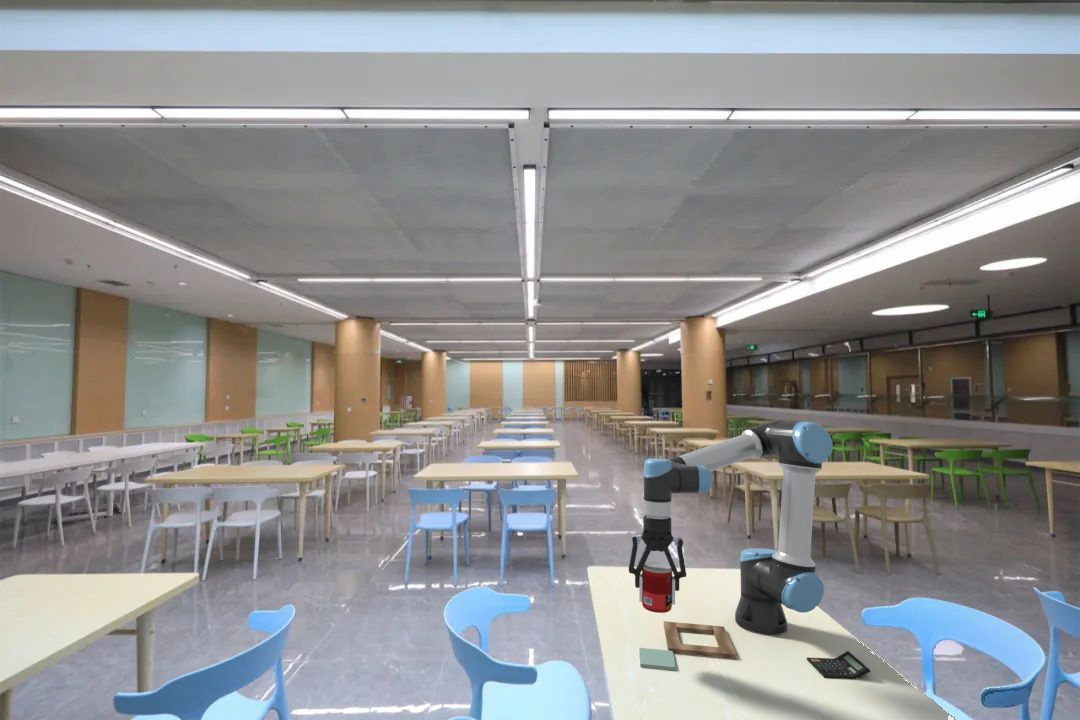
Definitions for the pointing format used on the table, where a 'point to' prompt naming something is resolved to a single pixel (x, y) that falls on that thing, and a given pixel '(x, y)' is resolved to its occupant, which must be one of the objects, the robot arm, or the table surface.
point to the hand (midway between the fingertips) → (656, 601)
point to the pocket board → (721, 652)
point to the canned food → (657, 587)
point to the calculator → (839, 666)
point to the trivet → (657, 659)
